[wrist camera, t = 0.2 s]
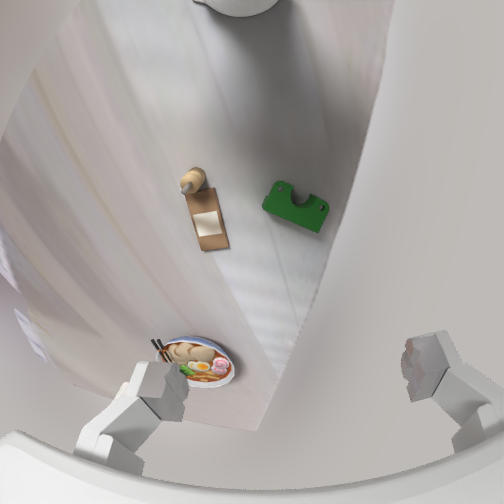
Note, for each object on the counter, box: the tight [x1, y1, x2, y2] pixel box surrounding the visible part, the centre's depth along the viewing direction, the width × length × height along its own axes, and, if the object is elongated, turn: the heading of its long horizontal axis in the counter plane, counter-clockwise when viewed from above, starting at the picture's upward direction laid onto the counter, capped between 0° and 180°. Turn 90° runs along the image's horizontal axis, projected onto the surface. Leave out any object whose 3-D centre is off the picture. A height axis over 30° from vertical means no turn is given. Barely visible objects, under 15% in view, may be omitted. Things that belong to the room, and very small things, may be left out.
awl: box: [181, 167, 206, 195], centre depth 51 cm, size 4×4×9 cm
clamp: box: [262, 181, 329, 233], centre depth 54 cm, size 12×6×9 cm, turn 61°
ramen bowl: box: [151, 336, 235, 391], centre depth 78 cm, size 25×23×8 cm
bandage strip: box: [185, 188, 229, 251], centre depth 59 cm, size 13×6×1 cm, turn 11°
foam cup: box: [112, 382, 129, 403], centre depth 94 cm, size 10×9×13 cm
